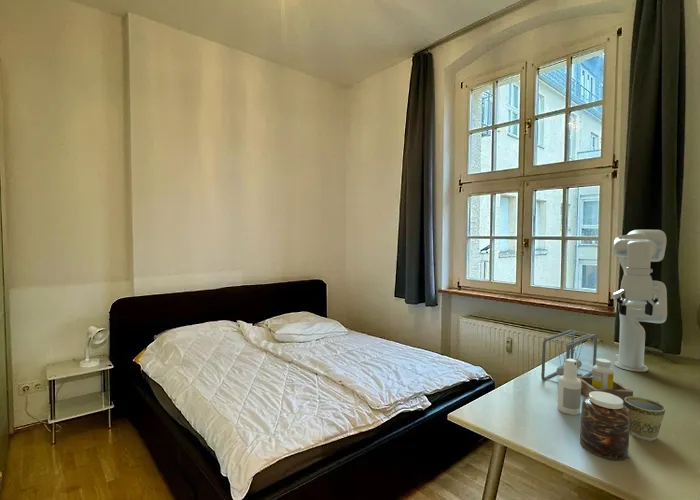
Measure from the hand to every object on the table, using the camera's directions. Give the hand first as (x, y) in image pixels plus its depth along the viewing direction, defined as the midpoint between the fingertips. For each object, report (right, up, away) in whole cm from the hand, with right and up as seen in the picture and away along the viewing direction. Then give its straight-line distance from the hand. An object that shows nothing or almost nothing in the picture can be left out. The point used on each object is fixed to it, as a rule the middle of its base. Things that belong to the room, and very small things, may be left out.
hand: (635, 314), depth 151 cm
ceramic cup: (-22, -32, -33) cm, 51 cm away
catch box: (-18, -30, -7) cm, 36 cm away
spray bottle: (-37, -31, -19) cm, 52 cm away
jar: (-41, -32, -41) cm, 66 cm away
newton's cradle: (-19, -29, +13) cm, 37 cm away
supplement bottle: (-18, -29, -7) cm, 35 cm away
